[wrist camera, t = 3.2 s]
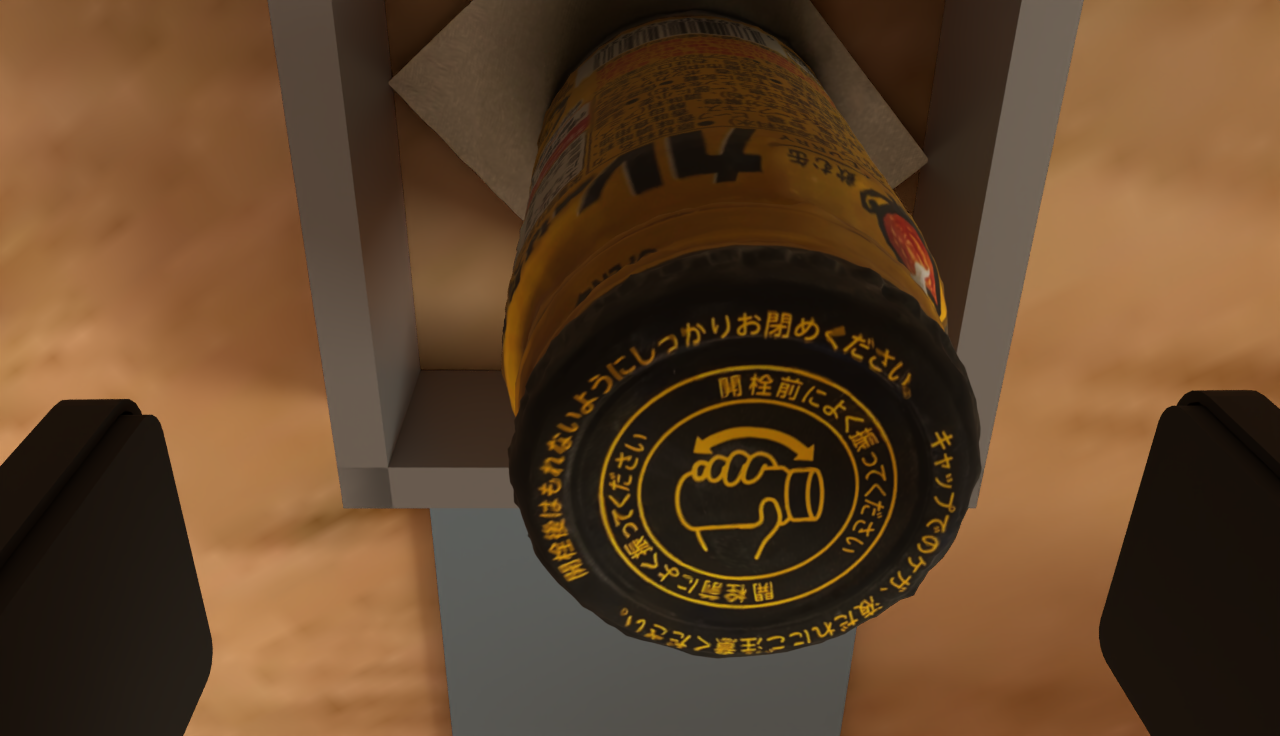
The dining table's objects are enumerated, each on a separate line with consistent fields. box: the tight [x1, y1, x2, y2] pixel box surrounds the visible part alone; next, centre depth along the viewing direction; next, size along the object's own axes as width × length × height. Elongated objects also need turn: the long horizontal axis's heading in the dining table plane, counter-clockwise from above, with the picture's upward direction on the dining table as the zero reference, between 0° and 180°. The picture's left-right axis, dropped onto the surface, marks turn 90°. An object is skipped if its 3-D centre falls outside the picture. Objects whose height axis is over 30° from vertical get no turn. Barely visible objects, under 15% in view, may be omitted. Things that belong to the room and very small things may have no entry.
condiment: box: [389, 0, 982, 659], centre depth 16 cm, size 7×8×12 cm
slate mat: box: [430, 508, 857, 736], centre depth 29 cm, size 11×11×1 cm
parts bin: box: [268, 0, 1084, 508], centre depth 20 cm, size 14×13×4 cm
